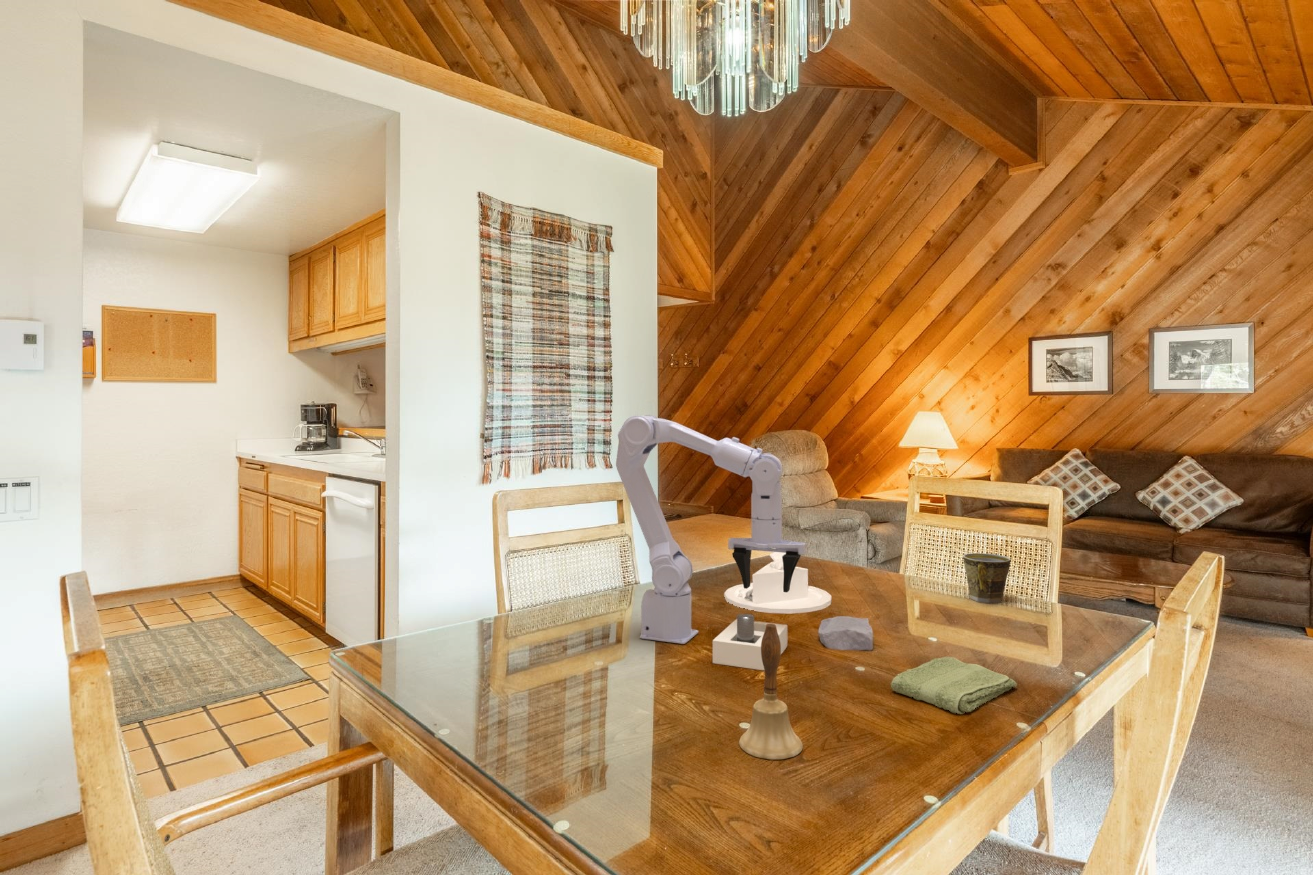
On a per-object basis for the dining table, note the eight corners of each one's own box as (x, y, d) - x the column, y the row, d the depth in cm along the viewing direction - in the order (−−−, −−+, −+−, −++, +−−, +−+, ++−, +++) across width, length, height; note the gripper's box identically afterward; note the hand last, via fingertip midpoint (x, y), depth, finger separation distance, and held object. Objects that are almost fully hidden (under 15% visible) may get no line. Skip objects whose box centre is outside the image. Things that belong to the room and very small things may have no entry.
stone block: (823, 659, 131) (878, 651, 129) (818, 633, 131) (873, 625, 129) (820, 641, 142) (870, 634, 140) (815, 618, 142) (865, 610, 141)
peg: (734, 662, 124) (734, 617, 124) (740, 656, 126) (740, 612, 126) (751, 664, 123) (751, 619, 122) (756, 659, 125) (756, 614, 125)
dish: (767, 582, 184) (767, 539, 184) (852, 600, 166) (852, 552, 165) (703, 599, 167) (703, 552, 167) (789, 621, 149) (789, 569, 149)
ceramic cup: (968, 592, 171) (968, 551, 171) (1013, 598, 165) (1014, 556, 165) (955, 604, 161) (955, 560, 160) (1003, 611, 155) (1004, 565, 155)
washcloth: (1021, 691, 111) (1021, 670, 111) (963, 721, 101) (963, 699, 100) (943, 667, 122) (943, 649, 122) (883, 693, 111) (883, 672, 111)
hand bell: (733, 732, 97) (733, 617, 96) (792, 729, 97) (792, 615, 97) (746, 761, 88) (746, 636, 88) (810, 758, 89) (811, 634, 88)
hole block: (712, 662, 123) (712, 640, 123) (736, 639, 136) (736, 618, 136) (768, 670, 119) (768, 647, 119) (787, 645, 132) (787, 624, 132)
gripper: (723, 518, 132) (723, 590, 133) (800, 523, 126) (800, 597, 127) (734, 513, 139) (734, 582, 139) (808, 517, 133) (808, 588, 133)
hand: (766, 589), depth 133 cm, fingers open, 7 cm apart
